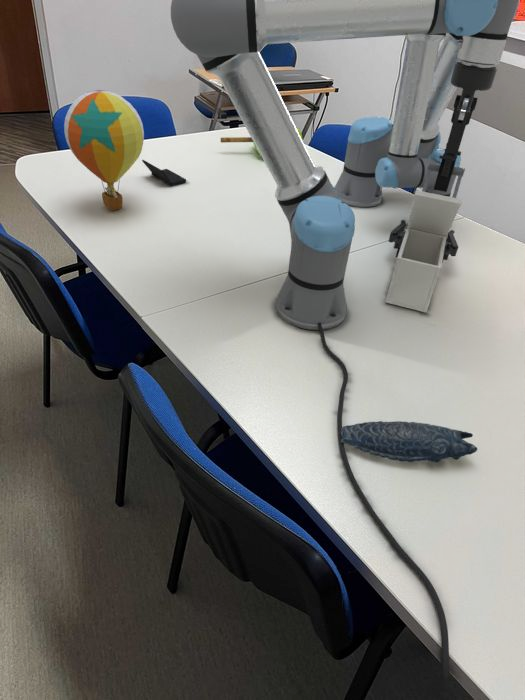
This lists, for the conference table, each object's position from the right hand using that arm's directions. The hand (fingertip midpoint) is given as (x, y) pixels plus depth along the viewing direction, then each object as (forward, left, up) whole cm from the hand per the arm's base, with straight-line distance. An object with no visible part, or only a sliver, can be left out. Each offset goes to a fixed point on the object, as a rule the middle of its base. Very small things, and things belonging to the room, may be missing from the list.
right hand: (419, 257), depth 123 cm
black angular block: (-58, -63, -6) cm, 86 cm away
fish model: (+53, -19, -6) cm, 56 cm away
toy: (-36, -76, -6) cm, 84 cm away
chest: (+5, -2, -6) cm, 8 cm away
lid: (+3, -1, +12) cm, 12 cm away
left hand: (+2, -1, +18) cm, 18 cm away
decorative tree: (-87, -30, -6) cm, 92 cm away
